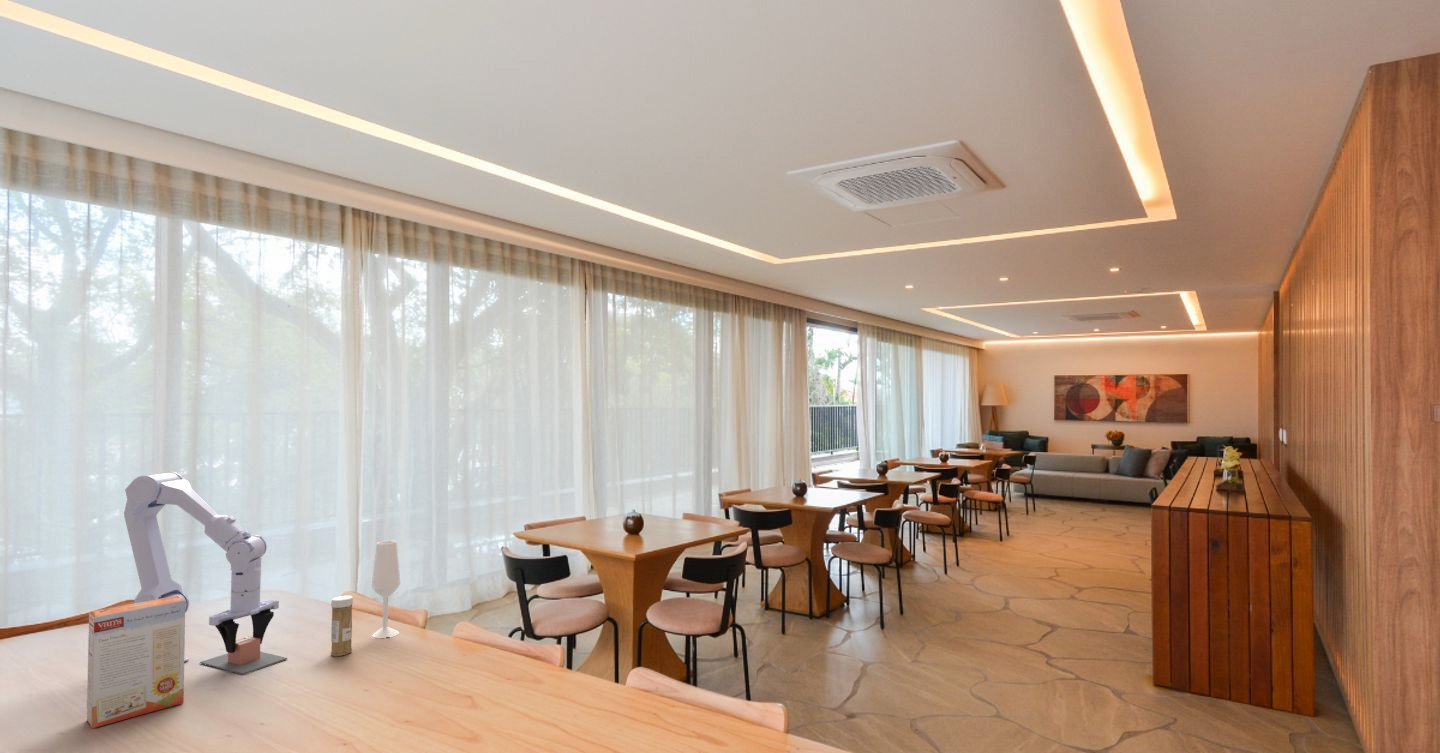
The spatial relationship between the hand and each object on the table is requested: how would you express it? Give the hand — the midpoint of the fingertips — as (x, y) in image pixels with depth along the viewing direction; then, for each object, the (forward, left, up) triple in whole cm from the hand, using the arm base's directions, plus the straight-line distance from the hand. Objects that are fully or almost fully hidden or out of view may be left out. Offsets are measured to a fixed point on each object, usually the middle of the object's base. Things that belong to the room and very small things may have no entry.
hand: (244, 647), depth 160 cm
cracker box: (+8, -25, -3) cm, 26 cm away
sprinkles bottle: (+16, +13, -3) cm, 21 cm away
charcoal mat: (0, 0, -3) cm, 3 cm away
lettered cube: (0, 0, -3) cm, 3 cm away
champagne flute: (+14, +27, -3) cm, 31 cm away
